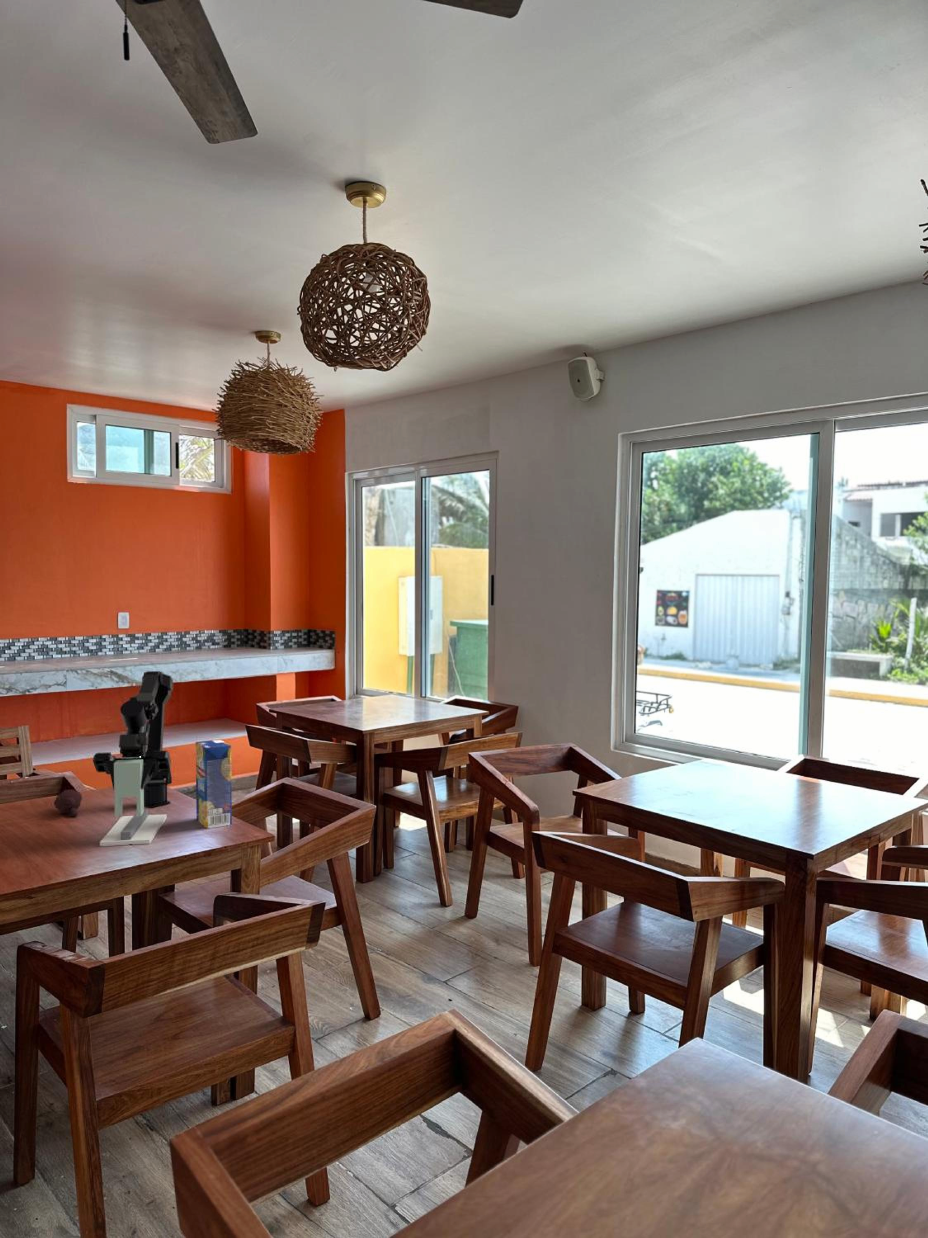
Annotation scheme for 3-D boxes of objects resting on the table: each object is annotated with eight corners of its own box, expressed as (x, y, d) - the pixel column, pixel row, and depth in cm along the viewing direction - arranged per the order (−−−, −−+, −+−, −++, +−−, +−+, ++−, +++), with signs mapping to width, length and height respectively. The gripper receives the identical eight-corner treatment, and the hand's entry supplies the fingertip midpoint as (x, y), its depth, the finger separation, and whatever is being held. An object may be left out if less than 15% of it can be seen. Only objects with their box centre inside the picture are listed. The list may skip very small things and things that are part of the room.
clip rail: (121, 820, 232) (121, 809, 232) (166, 817, 234) (166, 807, 234) (99, 846, 209) (99, 834, 208) (149, 843, 211) (149, 832, 211)
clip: (118, 813, 217) (117, 760, 216) (144, 812, 218) (143, 759, 217) (114, 817, 213) (113, 763, 212) (140, 816, 214) (140, 762, 213)
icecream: (47, 788, 243) (55, 803, 231) (73, 778, 247) (83, 793, 235) (54, 809, 245) (62, 825, 233) (80, 799, 249) (90, 815, 237)
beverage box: (220, 815, 237) (219, 739, 236) (232, 825, 227) (231, 745, 226) (196, 819, 233) (195, 742, 232) (206, 828, 224) (205, 748, 223)
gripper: (94, 722, 217) (83, 773, 206) (168, 720, 220) (161, 770, 209) (102, 746, 225) (92, 796, 214) (173, 744, 228) (167, 793, 218)
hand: (127, 789), depth 214 cm, fingers closed on clip, 6 cm apart
